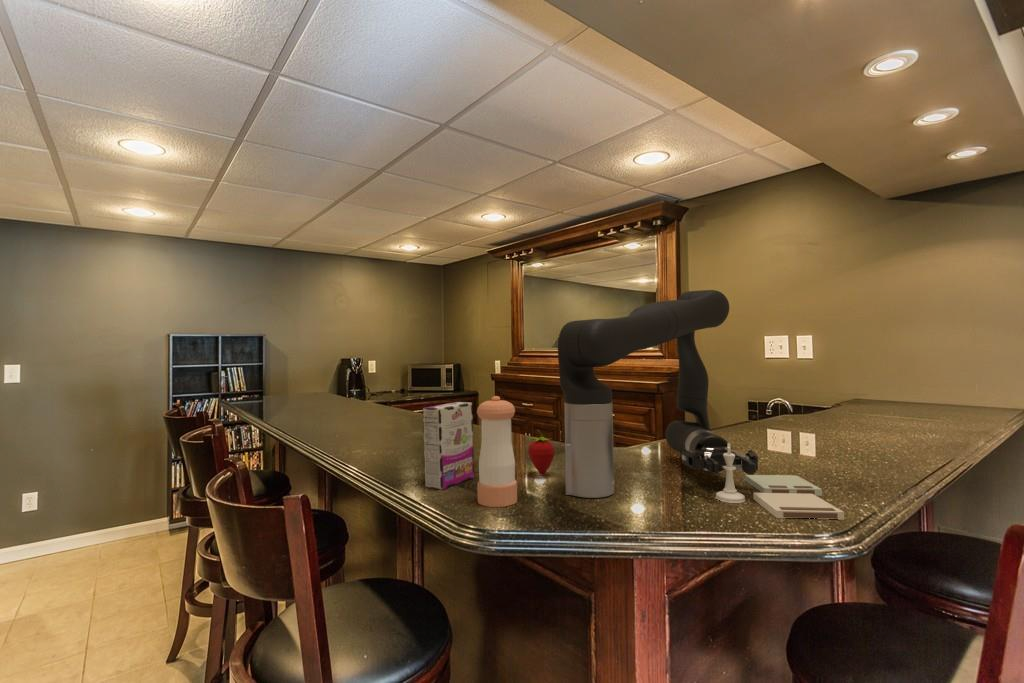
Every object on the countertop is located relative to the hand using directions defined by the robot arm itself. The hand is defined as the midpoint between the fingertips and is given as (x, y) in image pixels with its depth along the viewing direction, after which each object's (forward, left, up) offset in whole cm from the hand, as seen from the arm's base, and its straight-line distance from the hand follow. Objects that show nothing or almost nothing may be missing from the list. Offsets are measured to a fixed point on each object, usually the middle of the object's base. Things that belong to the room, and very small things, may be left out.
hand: (734, 468), depth 86 cm
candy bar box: (-54, +11, -6) cm, 55 cm away
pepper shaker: (-42, -1, -6) cm, 42 cm away
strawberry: (-35, +18, -6) cm, 40 cm away
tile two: (+12, +11, -6) cm, 17 cm away
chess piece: (0, +3, -6) cm, 7 cm away
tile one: (+9, -2, -6) cm, 11 cm away
